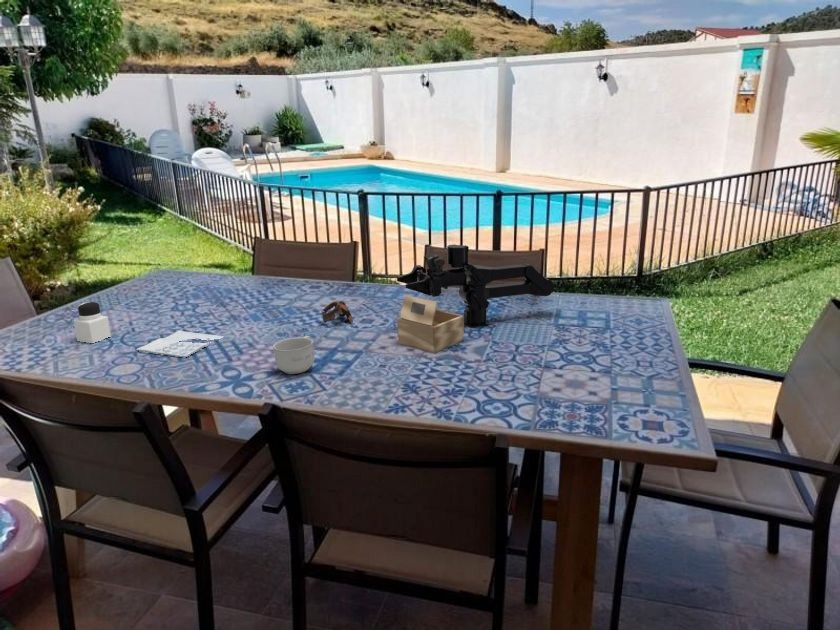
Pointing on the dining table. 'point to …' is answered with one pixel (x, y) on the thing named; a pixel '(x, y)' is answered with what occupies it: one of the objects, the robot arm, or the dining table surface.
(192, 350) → the white open book
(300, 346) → the teacup
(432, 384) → the dining table surface
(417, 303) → the flap
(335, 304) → the brown wooden arch
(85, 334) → the medicine bottle
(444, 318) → the tan wooden open box
